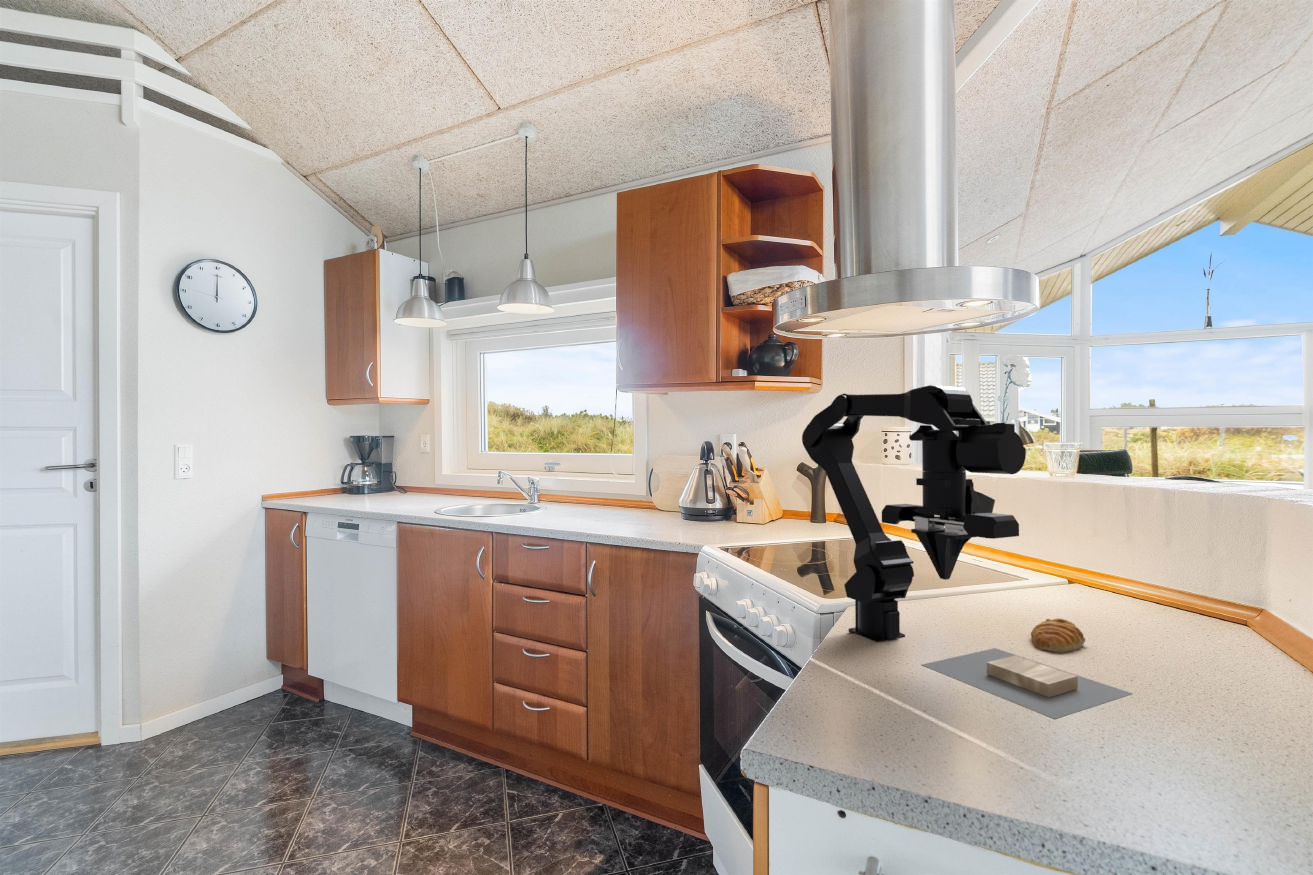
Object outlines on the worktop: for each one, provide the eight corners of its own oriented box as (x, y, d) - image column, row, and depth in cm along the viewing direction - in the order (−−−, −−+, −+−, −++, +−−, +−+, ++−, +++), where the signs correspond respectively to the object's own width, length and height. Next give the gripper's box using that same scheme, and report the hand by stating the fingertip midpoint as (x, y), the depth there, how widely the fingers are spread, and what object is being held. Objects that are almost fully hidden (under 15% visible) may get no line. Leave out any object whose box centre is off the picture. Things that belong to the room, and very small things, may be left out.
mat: (920, 667, 81) (920, 664, 81) (994, 650, 88) (994, 647, 88) (1054, 722, 65) (1054, 718, 65) (1132, 696, 72) (1132, 693, 72)
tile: (986, 662, 78) (1048, 684, 70) (1015, 655, 80) (1077, 675, 73) (986, 674, 78) (1048, 698, 70) (1015, 667, 80) (1077, 689, 73)
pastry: (1076, 661, 84) (1075, 635, 84) (1022, 650, 89) (1022, 625, 89) (1086, 645, 91) (1085, 621, 91) (1036, 636, 96) (1035, 613, 96)
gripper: (1044, 473, 79) (1045, 587, 79) (928, 468, 96) (929, 562, 95) (990, 474, 74) (992, 596, 74) (878, 469, 91) (879, 568, 91)
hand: (944, 578), depth 84 cm, fingers closed
